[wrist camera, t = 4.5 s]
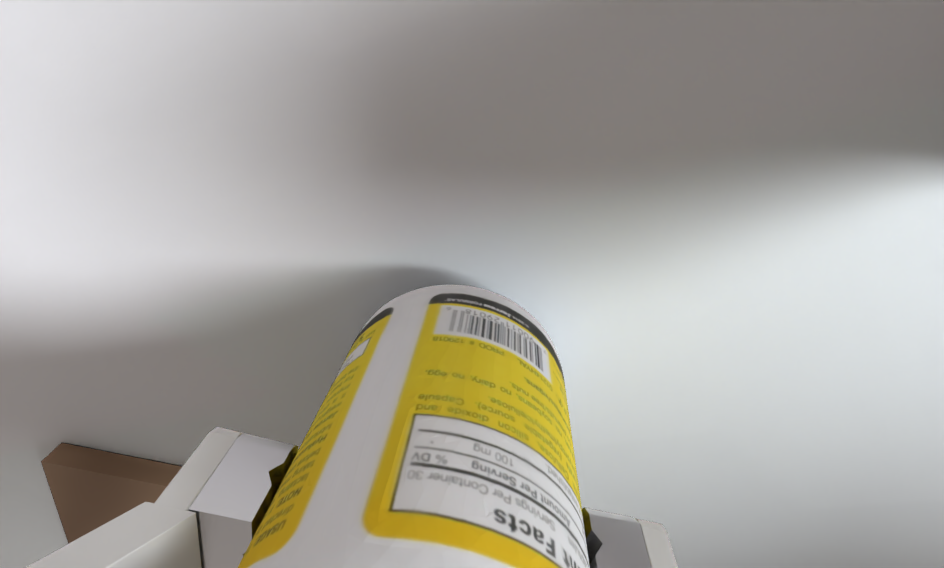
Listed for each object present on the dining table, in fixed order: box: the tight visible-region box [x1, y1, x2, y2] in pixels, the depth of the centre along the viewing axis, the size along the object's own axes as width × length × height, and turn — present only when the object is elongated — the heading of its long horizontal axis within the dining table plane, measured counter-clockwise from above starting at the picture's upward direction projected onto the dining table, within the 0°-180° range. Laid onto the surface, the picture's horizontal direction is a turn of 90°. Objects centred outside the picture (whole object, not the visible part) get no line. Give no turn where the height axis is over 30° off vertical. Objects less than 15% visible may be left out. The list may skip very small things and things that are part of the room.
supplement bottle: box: [238, 285, 590, 568], centre depth 8 cm, size 5×5×10 cm
